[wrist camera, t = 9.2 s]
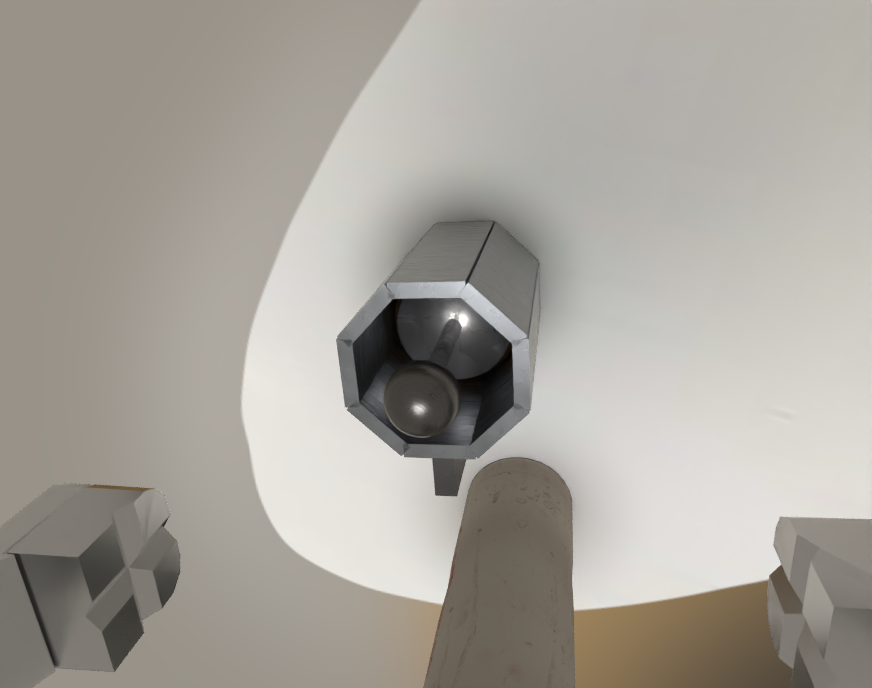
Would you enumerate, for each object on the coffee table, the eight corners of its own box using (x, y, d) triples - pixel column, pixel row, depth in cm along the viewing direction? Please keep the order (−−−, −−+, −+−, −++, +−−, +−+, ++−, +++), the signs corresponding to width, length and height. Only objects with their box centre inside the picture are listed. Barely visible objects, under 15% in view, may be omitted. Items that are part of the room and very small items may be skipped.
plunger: (510, 266, 39) (488, 344, 28) (513, 374, 42) (494, 485, 30) (395, 268, 40) (330, 344, 29) (405, 373, 43) (349, 480, 32)
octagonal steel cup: (538, 219, 44) (527, 280, 31) (541, 394, 49) (532, 510, 36) (394, 224, 46) (329, 284, 33) (410, 392, 50) (357, 502, 38)
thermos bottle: (467, 539, 55) (381, 955, 29) (468, 453, 52) (372, 830, 26) (568, 549, 53) (572, 994, 28) (575, 461, 50) (585, 868, 25)
